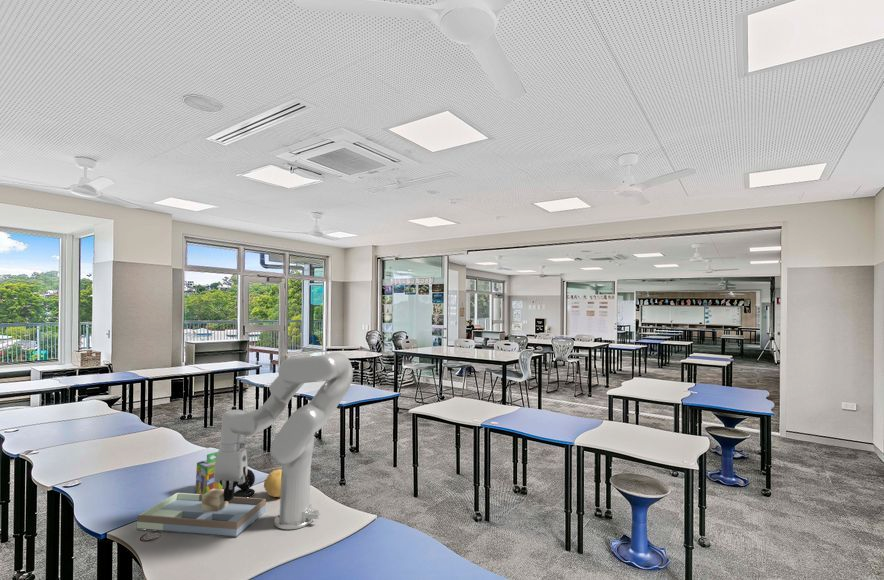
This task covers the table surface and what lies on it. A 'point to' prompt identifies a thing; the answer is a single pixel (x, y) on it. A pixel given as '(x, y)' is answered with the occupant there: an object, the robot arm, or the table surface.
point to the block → (213, 500)
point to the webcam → (246, 486)
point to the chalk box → (206, 475)
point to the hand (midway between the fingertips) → (228, 499)
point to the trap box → (201, 516)
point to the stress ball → (273, 483)
